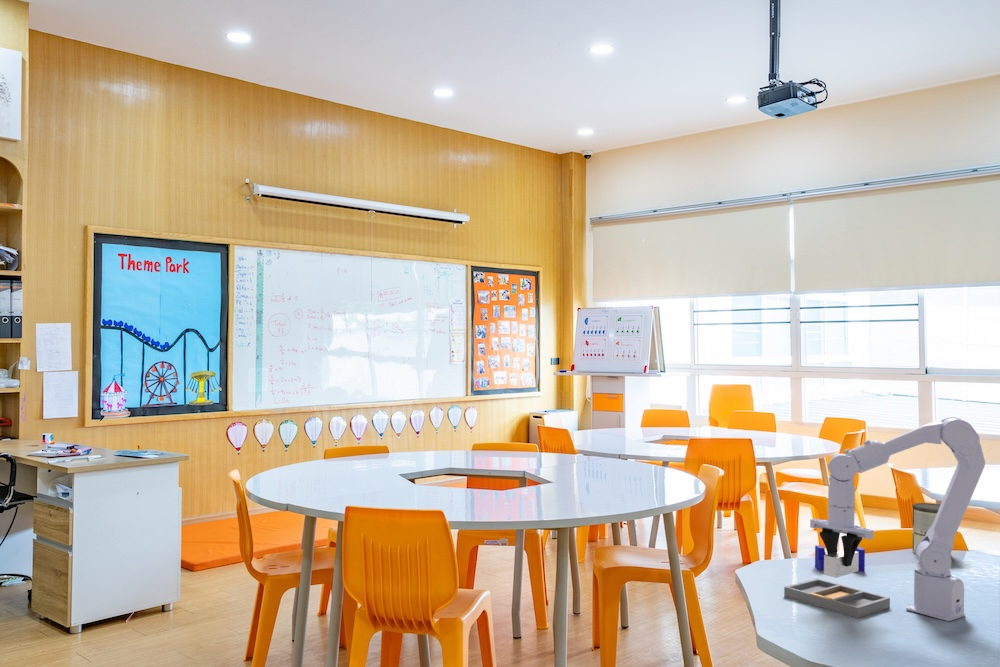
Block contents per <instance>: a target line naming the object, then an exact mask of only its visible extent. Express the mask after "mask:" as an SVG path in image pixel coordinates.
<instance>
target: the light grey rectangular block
mask: <svg viewBox="0 0 1000 667" xmlns="http://www.w3.org/2000/svg"><path fill="white" fill-rule="evenodd" d="M858 562H859V552H856V551H855V554H854V556H853V560H852V564H851V566H847V567H846V566H844V549H842V550H837V552H835V553H831V554H828V553H826V555H824V571H823V575H824V576H827V577H831V578H836V579H837V578H840V577H844V576H846V575H849V574H853V573H857V572H859V571H858Z"/></svg>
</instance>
